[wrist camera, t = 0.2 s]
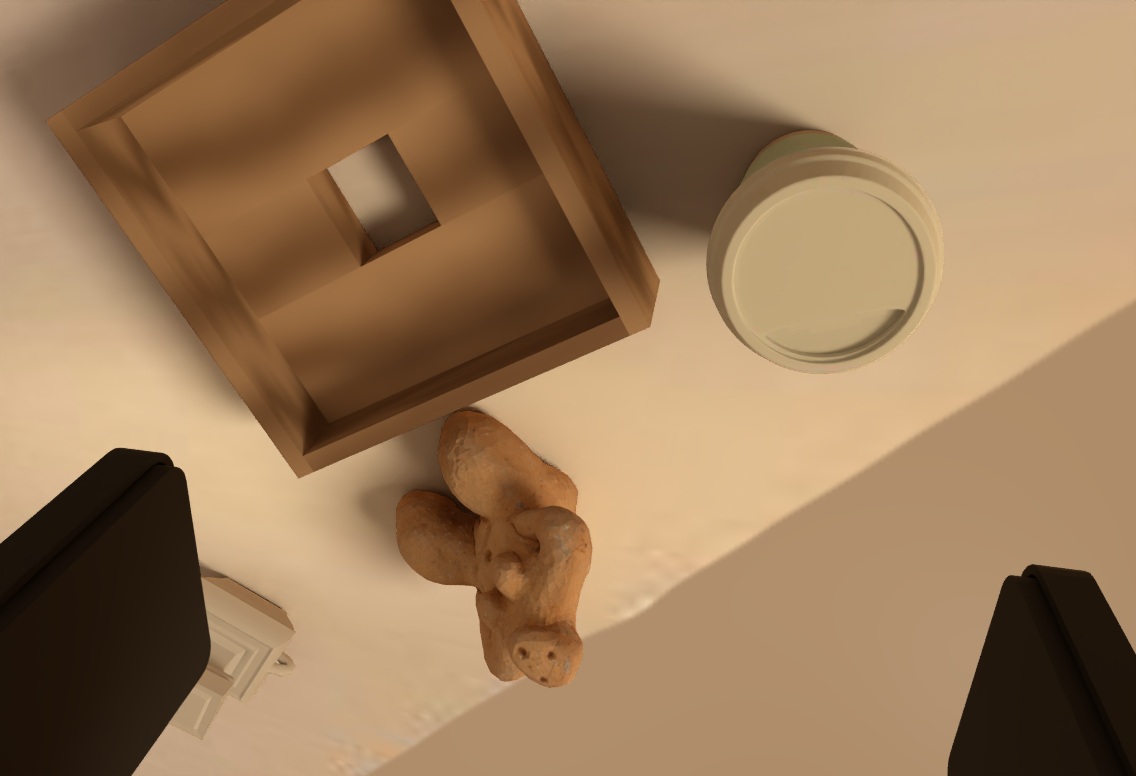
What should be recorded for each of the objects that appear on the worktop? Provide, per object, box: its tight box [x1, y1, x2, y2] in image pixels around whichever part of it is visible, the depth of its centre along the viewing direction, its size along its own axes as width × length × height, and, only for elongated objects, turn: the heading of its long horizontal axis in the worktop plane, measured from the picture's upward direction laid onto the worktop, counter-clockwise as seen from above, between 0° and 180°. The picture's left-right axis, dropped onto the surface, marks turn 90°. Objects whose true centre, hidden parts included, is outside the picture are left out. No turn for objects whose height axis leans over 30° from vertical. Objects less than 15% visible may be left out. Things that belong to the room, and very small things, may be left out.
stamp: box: [169, 577, 295, 740], centre depth 58 cm, size 9×7×8 cm
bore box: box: [46, 0, 660, 478], centre depth 45 cm, size 20×20×6 cm
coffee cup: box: [706, 130, 944, 374], centre depth 39 cm, size 9×8×12 cm
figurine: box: [396, 411, 592, 688], centre depth 49 cm, size 11×9×15 cm
